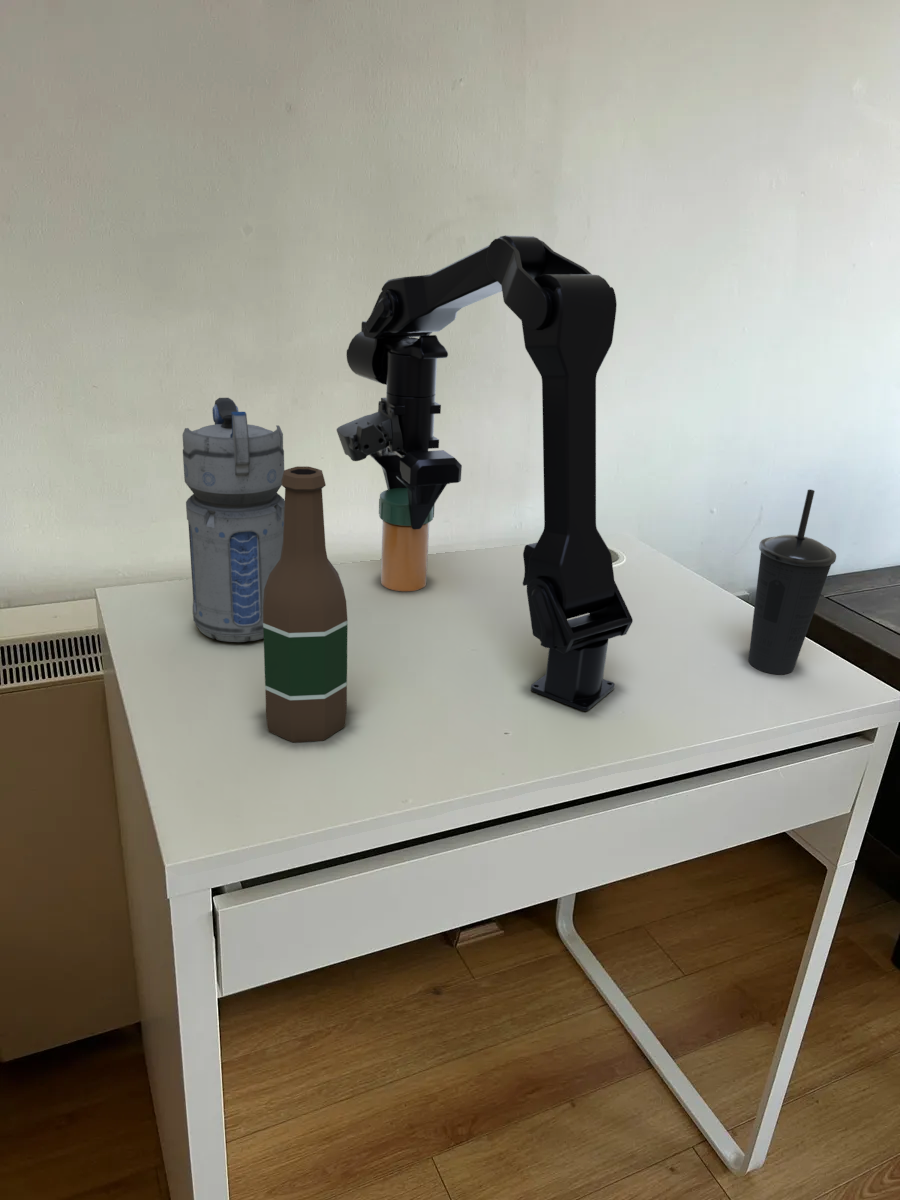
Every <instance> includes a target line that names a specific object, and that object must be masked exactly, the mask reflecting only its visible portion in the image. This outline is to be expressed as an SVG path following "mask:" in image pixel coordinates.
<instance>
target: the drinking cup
mask: <svg viewBox="0 0 900 1200" xmlns="http://www.w3.org/2000/svg"><path fill="white" fill-rule="evenodd" d="M814 496H815V489H807V491H806V495H805V501H804V505H803V508H802V513H801V518H800V522H799V527H798V530H797V534H780V535H777V536H769V537H766V538H763V539H761V541H760V542H759V544H758V548H759V551H760V555H759V564H758V572H757V573H758V574H757V583H756V591H755V600H754V608H753V617H752V626H751V634H750V644H749V651H748V663H749V664H750V665H751V667H753V668H755V669H757V670H758V671H761V672H763V673H767V674H771V675H788V674H791V673H792V672H794V669H795V666H796V664H797V661H798V659H799V655H800V653H801V651H802V646H803V644H804V642H805V639H806V637H807V633H808V630H809V629H810V625H811V621H812V620H813V616H814V614H815V611H816V609H817V605H818V603H819V601H820V598H821V595H822V594H821V593H822V591H823V589H824V586H825V583H826V581H827V578H828V575H829V572H830V569H831V566H832V565H833V564H834V563H836V560H837V553H836V552H835V551H834V550H833V549H832V548H830V547H828V546H827V545H825V544H823V543H822V542H820V541H818V540H816V539H814V538H811V537H808V536H805V535H806V530H807V526H808V521H809V517H810V514H811V513H810V512H811V510H812V509H811V508H812V503H813V500H814Z"/></svg>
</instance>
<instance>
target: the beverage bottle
mask: <svg viewBox="0 0 900 1200" xmlns="http://www.w3.org/2000/svg"><path fill="white" fill-rule="evenodd" d="M211 410H212V411H211V412H212V421H213V423H214V424H209V425H206V426H202V427H200V428H198V429H195V430H191V429H190V428H189V427H185V428H184V430H183V432H182V448H183V449H182V460H183V461H182V463H183V476H184V477H183V479H184V483H185V484H186V486H187V487H188V488H189V490H190V491H191V492H192V493H193V494H191V495H190V496H189V497H188V498H187V499H186V501H185V509H186V520H187V523H188V540H189V555H190V569H191V570H190V571H191V585H192V619H193V620H192V621H193V622H194V624H195V626H196V627H197V629H198V630H199V632H200V633H201V634H203V635H204V636H206V637H208V638H210V639H212V640H214V639H216V640H217V641H221V642H228V643H245V642H254V641H259V640H262V639H263V640H264V633H263V599H264V588H265V585H266V583H267V580H268V577H269V574H270V573H271V571H272V570H273V569H274V567H275V566H276V564H277V563H278V562H279V560H280V558H281V551H282V545H283V530H284V506H285V498H284V497H282V496H281V494H279V493H278V492H279V490H280V489H281V487H283V486H282V481H281V480H282V476H283V473H284V470H285V450H284V434H283V430H282V429H281V427H280V425H275V426H276V429H275V430H270V429H267V428H266V427H262V426H259V425H255V424H248V417H247V412H246V411H239V407H238V406H237V405H236V403H235V402H234V400H233V399H231V398H229V397H219V398H217V399H216V400H215V401H214V405H213V406H212V409H211Z"/></svg>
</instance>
